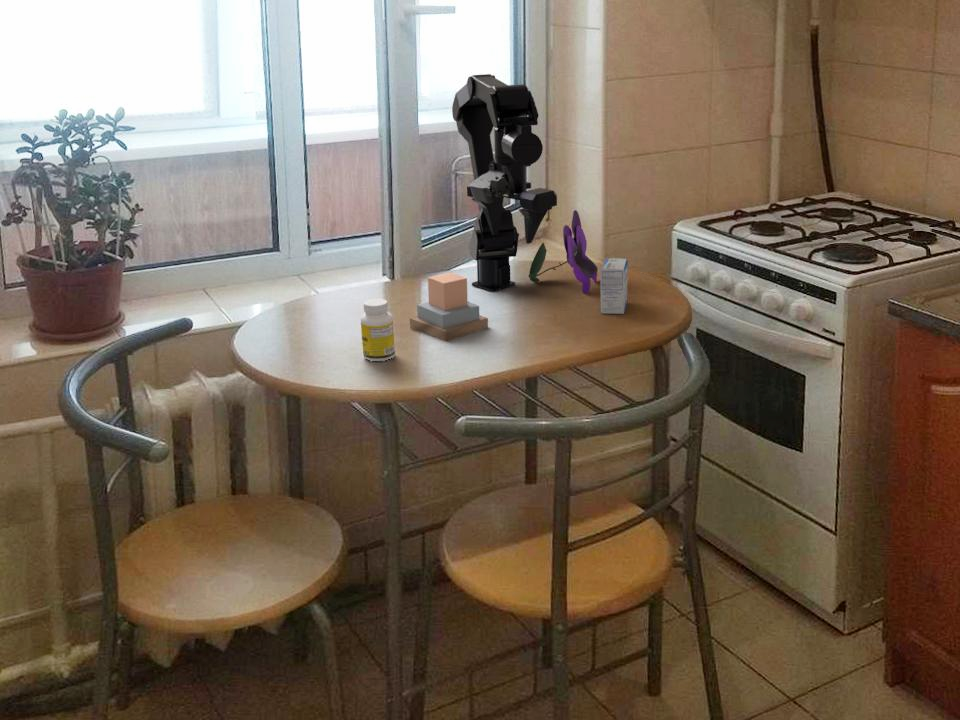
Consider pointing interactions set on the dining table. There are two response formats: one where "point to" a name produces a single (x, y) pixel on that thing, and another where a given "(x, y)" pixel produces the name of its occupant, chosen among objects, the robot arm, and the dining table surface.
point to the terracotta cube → (447, 291)
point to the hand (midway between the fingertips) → (511, 238)
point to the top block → (447, 314)
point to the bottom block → (450, 331)
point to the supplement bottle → (377, 331)
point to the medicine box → (614, 286)
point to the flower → (570, 255)
